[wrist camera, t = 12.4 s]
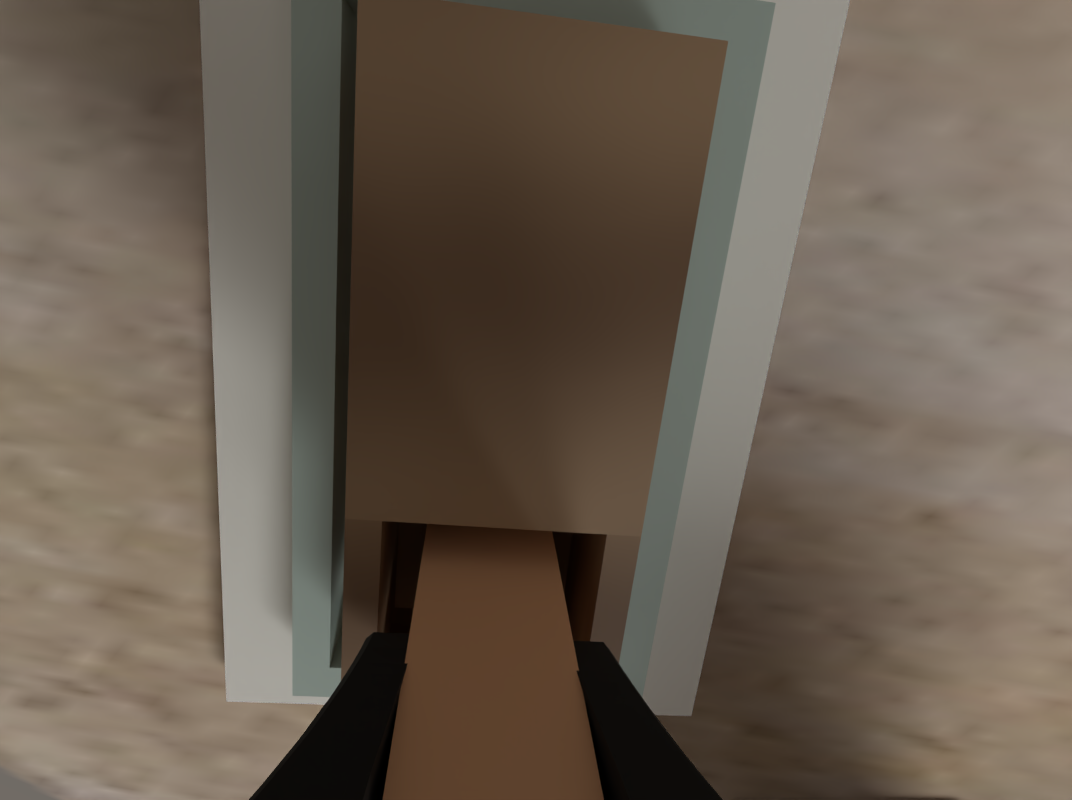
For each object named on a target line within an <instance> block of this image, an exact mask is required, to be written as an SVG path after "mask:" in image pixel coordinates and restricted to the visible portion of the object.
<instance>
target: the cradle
mask: <svg viewBox="0 0 1072 800" xmlns="http://www.w3.org/2000/svg"><path fill="white" fill-rule="evenodd" d="M443 1H451V2H458V3H465V4H472V5H479V6H486V7H493V8H500V9H507V10H514V11H521V12H528V13H535V14H542V15H549V16H556V17H563V18H570V19H578V20H585V21H592V22H599V23H606V24H613V25H620V26H627V27H634V28H641V29H648V30H655V31H662V32H669V33H676V34H683V35H690V36H697V37H704V38H712V39H719V40H726V41H728V46H727V51H726V57H725V63H724V68H723V74H722V80H721V86H720V91H719V97H718V103H717V108H716V114H715V120H714V125H713V131H712V137H711V142H710V148H709V154H708V159H707V165H706V171H705V177H704V182H703V188H702V194H701V199H700V205H699V211H698V216H697V222H696V228H695V233H694V239H693V245H692V250H691V256H690V262H689V268H688V273H687V279H686V285H685V290H684V296H683V302H682V307H681V313H680V319H679V324H678V330H677V336H676V341H675V347H674V353H673V359H672V364H671V370H670V376H669V381H668V387H667V393H666V398H665V404H664V410H663V415H662V421H661V427H660V432H659V438H658V444H657V450H656V455H655V461H654V467H653V472H652V478H651V484H650V489H649V495H648V501H647V506H646V512H645V518H644V523H643V529H642V535H641V541H640V546H639V552H638V558H637V563H636V569H635V575H634V580H633V586H632V592H631V597H630V603H629V609H628V614H627V620H626V626H625V632H624V637H623V643H622V649H621V654H620V660H619V664H620V666H621V667H622V669H623V670H624V672H625V673H626V675H627V676H628V678H629V679H630V681H631V682H632V684H633V685H634V686H635V688H636V689H637V691H638V692H639V694H640V695H641V696H642V698H643V699H644V701H645V702H646V704H647V705H648V706H649V708H650V709H651V710H652V712H653V713H654V715H670V716H691V715H692V711H693V706H694V702H695V697H696V693H697V688H698V684H699V679H700V675H701V670H702V666H703V661H704V657H705V652H706V648H707V643H708V639H709V634H710V630H711V625H712V621H713V616H714V612H715V607H716V603H717V598H718V594H719V589H720V585H721V580H722V576H723V571H724V567H725V562H726V558H727V553H728V549H729V544H730V539H731V535H732V530H733V526H734V521H735V517H736V512H737V508H738V503H739V499H740V494H741V490H742V485H743V481H744V476H745V472H746V467H747V463H748V458H749V454H750V449H751V445H752V440H753V436H754V431H755V427H756V422H757V418H758V413H759V409H760V404H761V400H762V395H763V391H764V386H765V382H766V377H767V373H768V368H769V364H770V359H771V355H772V350H773V346H774V341H775V337H776V332H777V328H778V323H779V318H780V314H781V309H782V305H783V300H784V296H785V291H786V287H787V282H788V278H789V273H790V269H791V264H792V260H793V255H794V251H795V246H796V242H797V237H798V233H799V228H800V224H801V219H802V215H803V210H804V206H805V201H806V197H807V192H808V188H809V183H810V179H811V174H812V170H813V165H814V161H815V156H816V152H817V147H818V143H819V138H820V134H821V129H822V125H823V120H824V116H825V111H826V107H827V102H828V98H829V93H830V88H831V84H832V79H833V75H834V70H835V66H836V61H837V57H838V52H839V48H840V43H841V39H842V34H843V30H844V25H845V21H846V16H847V12H848V7H849V3H850V0H443ZM199 6H200V32H201V57H202V83H203V109H204V135H205V161H206V187H207V213H208V238H209V264H210V290H211V316H212V342H213V368H214V394H215V420H216V445H217V471H218V497H219V523H220V549H221V575H222V601H223V626H224V652H225V678H226V701H229V702H261V703H292V704H324V705H325V703H326V702H327V701H328V699H329V698H330V697H331V695H332V694H333V692H334V691H335V689H336V688H337V686H338V685H339V683H340V682H341V657H342V616H343V576H344V535H345V494H346V454H347V413H348V373H349V332H350V292H351V251H352V211H353V170H354V130H355V89H356V49H357V8H358V0H199Z"/></svg>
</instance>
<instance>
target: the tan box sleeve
mask: <svg viewBox="0 0 1072 800" xmlns="http://www.w3.org/2000/svg"><path fill="white" fill-rule="evenodd" d="M727 46H728V41H726V40H719V39H712V38H704V37H697V36H690V35H683V34H676V33H669V32H662V31H655V30H648V29H641V28H634V27H627V26H620V25H613V24H606V23H599V22H592V21H585V20H578V19H570V18H563V17H556V16H549V15H542V14H535V13H528V12H521V11H514V10H507V9H500V8H493V7H486V6H479V5H472V4H465V3H458V2H451V1H443V0H358V8H357V49H356V89H355V130H354V170H353V211H352V251H351V292H350V332H349V373H348V413H347V454H346V494H345V535H344V576H343V616H342V657H341V680H342V679H343V677H344V676H345V674H346V672H347V671H348V669H349V668H350V666H351V664H352V663H353V661H354V659H355V658H356V656H357V654H358V653H359V651H360V649H361V647H362V645H363V643H364V641H365V639H366V638H367V637H368V636H370V635H371V634H372V633H373V632H383V633H406V634H409V633H410V627H411V621H412V615H413V608H414V602H415V596H416V590H417V584H418V578H419V571H420V565H421V559H422V553H423V547H424V541H425V534H426V528H427V524H440V525H457V526H474V527H490V528H507V529H523V530H540V531H552V534H553V539H554V544H555V549H556V554H557V559H558V565H559V570H560V575H561V580H562V585H563V591H564V596H565V601H566V606H567V611H568V616H569V622H570V627H571V632H572V637H573V641H594V642H604V643H605V644H606V646H607V647H608V648H609V649H610V651H611V652H612V654H613V655H614V657H615V658H616V660H617V661H618V663H619V660H620V654H621V649H622V643H623V637H624V632H625V626H626V620H627V614H628V609H629V603H630V597H631V592H632V586H633V580H634V575H635V569H636V563H637V558H638V552H639V546H640V541H641V535H642V529H643V523H644V518H645V512H646V506H647V501H648V495H649V489H650V484H651V478H652V472H653V467H654V461H655V455H656V450H657V444H658V438H659V432H660V427H661V421H662V415H663V410H664V404H665V398H666V393H667V387H668V381H669V376H670V370H671V364H672V359H673V353H674V347H675V341H676V336H677V330H678V324H679V319H680V313H681V307H682V302H683V296H684V290H685V285H686V279H687V273H688V268H689V262H690V256H691V250H692V245H693V239H694V233H695V228H696V222H697V216H698V211H699V205H700V199H701V194H702V188H703V182H704V177H705V171H706V165H707V159H708V154H709V148H710V142H711V137H712V131H713V125H714V120H715V114H716V108H717V103H718V97H719V91H720V86H721V80H722V74H723V68H724V63H725V57H726V51H727Z"/></svg>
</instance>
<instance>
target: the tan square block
mask: <svg viewBox="0 0 1072 800" xmlns="http://www.w3.org/2000/svg"><path fill="white" fill-rule="evenodd" d="M405 663H408V664H407V668H406V671H405V675H404V678H403V682H402V685H401V689H400V695H399V701H398V707H397V714H396V720H395V726H394V732H393V738H392V744H391V751H390V757H389V763H388V769H387V775H386V781H385V788H384V794H383V800H604V798H603V793H602V787H601V782H600V777H599V772H598V767H597V761H596V756H595V751H594V746H593V741H592V736H591V730H590V725H589V720H588V715H587V710H586V704H585V699H584V694H583V690H582V687H581V684H580V681H579V677H578V674H577V671H579V668H578V663H577V658H576V653H575V648H574V642H573V637H572V632H571V627H570V622H569V616H568V611H567V606H566V601H565V596H564V591H563V585H562V580H561V575H560V570H559V565H558V559H557V554H556V549H555V544H554V539H553V534H552V531H540V530H523V529H507V528H490V527H474V526H457V525H440V524H427V528H426V534H425V541H424V547H423V553H422V559H421V565H420V571H419V578H418V584H417V590H416V596H415V602H414V608H413V615H412V621H411V627H410V633H409V639H408V646H407V652H406V658H405Z"/></svg>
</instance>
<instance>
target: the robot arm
mask: <svg viewBox="0 0 1072 800" xmlns="http://www.w3.org/2000/svg"><path fill="white" fill-rule="evenodd" d="M408 639H409V634H406V633H383V632H373V633H372V634H371V635H370V636H368V637H367V638H366V639H365V641H364V643H363V645H362V647H361V649H360V651H359V653H358V654H357V656H356V658H355V659H354V661H353V663H352V664H351V666H350V668H349V669H348V671H347V672H346V674H345V676H344V677H343V679H342V680H341V682H340V683H339V685H338V686H337V688H336V689H335V691H334V692H333V694H332V695H331V697H330V698H329V699H328V701H327V702H326V703H325V705H324V706H323V708H322V709H321V710H320V712H319V713H318V714H317V716H316V717H315V719H314V720H313V721H312V723H311V724H310V725H309V727H308V728H307V730H306V731H305V732H304V734H303V735H302V736H301V737H300V739H299V740H298V741H297V743H296V744H295V745H294V746H293V747H292V749H291V750H290V751H289V752H288V754H287V755H286V756H285V757H284V758H283V760H282V761H281V762H280V763H279V765H278V766H277V767H276V768H275V769H274V771H273V772H272V773H271V774H270V776H269V777H268V778H267V779H266V780H265V782H264V783H263V784H262V785H261V786H260V788H259V789H258V790H257V791H256V792H255V793H254V794H253V796H252V797H251V798H250V799H249V800H383V794H384V788H385V781H386V775H387V769H388V763H389V757H390V751H391V744H392V738H393V732H394V726H395V720H396V714H397V707H398V701H399V695H400V689H401V685H402V682H403V678H404V675H405V671H406V668H407V664H408V663H405V658H406V652H407V646H408ZM573 642H574V648H575V653H576V658H577V663H578V668H579V671H577V674H578V677H579V681H580V684H581V687H582V690H583V694H584V699H585V704H586V710H587V715H588V720H589V725H590V730H591V736H592V741H593V746H594V751H595V756H596V761H597V767H598V772H599V777H600V782H601V787H602V793H603V798H604V800H722V798H721V797H720V796H719V795H718V794H717V792H716V791H715V790H714V789H713V788H712V787H711V785H710V784H709V783H708V782H707V781H706V780H705V778H704V777H703V776H702V775H701V774H700V772H699V771H698V770H697V769H696V768H695V766H694V765H693V764H692V763H691V761H690V760H689V759H688V758H687V756H686V755H685V754H684V753H683V751H682V750H681V749H680V748H679V746H678V745H677V744H676V742H675V741H674V740H673V738H672V737H671V736H670V734H669V733H668V732H667V731H666V729H665V728H664V727H663V725H662V724H661V723H660V721H659V720H658V719H657V717H656V716H655V715H654V713H653V712H652V710H651V709H650V708H649V706H648V705H647V704H646V702H645V701H644V699H643V698H642V696H641V695H640V694H639V692H638V691H637V689H636V688H635V686H634V685H633V684H632V682H631V681H630V679H629V678H628V676H627V675H626V673H625V672H624V670H623V669H622V667H621V666H620V664H619V663H618V661H617V660H616V658H615V657H614V655H613V654H612V652H611V651H610V649H609V648H608V647H607V646H606V644H605V643H604V642H594V641H573Z"/></svg>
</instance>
